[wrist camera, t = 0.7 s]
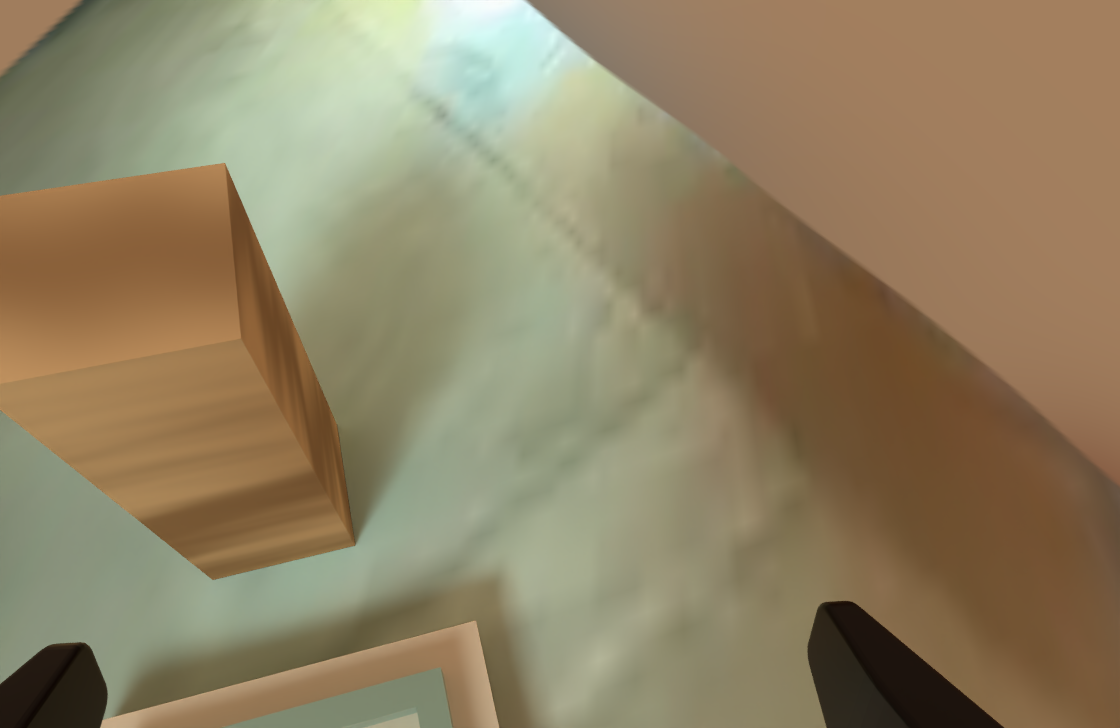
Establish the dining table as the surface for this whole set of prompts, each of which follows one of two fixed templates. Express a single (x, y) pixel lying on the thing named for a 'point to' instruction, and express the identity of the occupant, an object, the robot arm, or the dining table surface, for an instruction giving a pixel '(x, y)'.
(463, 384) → the dining table surface
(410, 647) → the base plate
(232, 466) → the oak brick
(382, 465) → the dining table surface
